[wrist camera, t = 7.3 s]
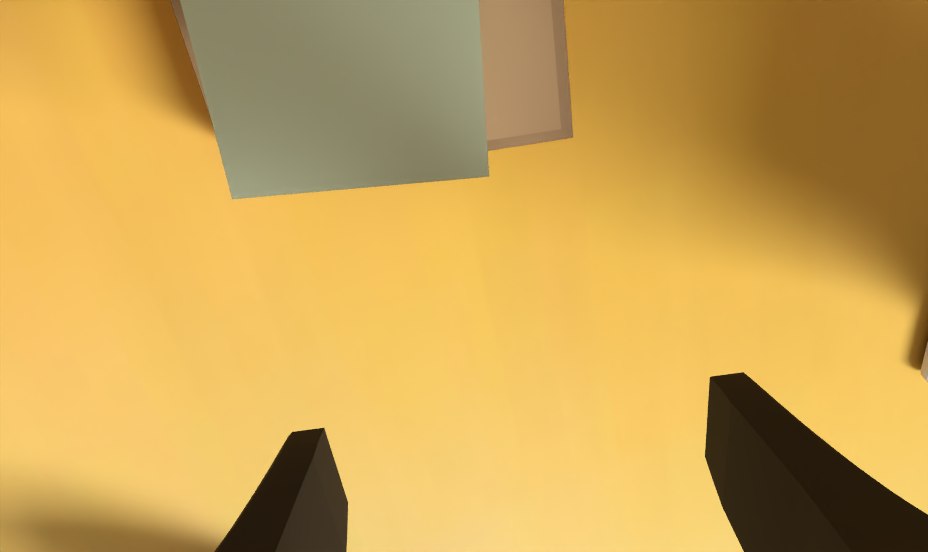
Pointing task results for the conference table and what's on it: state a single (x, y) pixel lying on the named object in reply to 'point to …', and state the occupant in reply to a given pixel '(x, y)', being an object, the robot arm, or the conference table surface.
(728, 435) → the robot arm
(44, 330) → the conference table surface
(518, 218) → the conference table surface
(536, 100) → the walnut box
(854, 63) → the conference table surface
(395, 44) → the sage block
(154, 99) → the conference table surface
